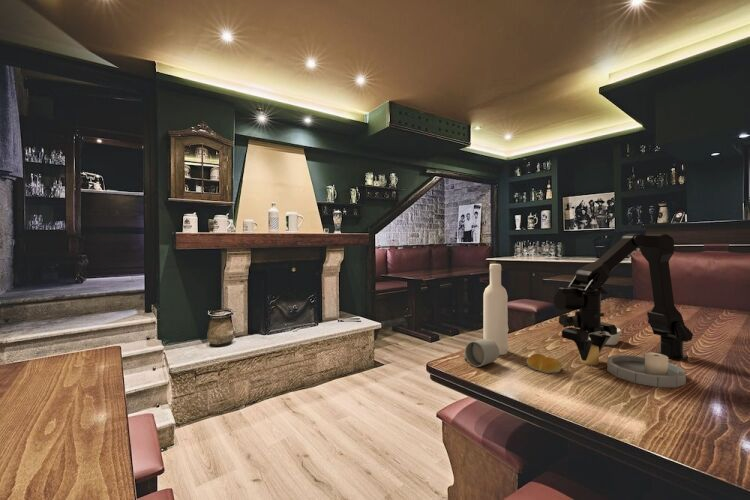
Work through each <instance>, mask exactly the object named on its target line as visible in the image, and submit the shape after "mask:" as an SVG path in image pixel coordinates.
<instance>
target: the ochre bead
mask: <svg viewBox="0 0 750 500" xmlns="http://www.w3.org/2000/svg"><path fill="white" fill-rule="evenodd" d="M579 362H580V363H582V364H585V365H589V366H598V365H599V364H600V353H599V347H598V346H596V345H591V348H590V351H589V354H588V357H587V359H586V361H584V360H582V359H581V356H580V355H579Z"/></svg>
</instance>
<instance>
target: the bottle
mask: <svg viewBox="0 0 750 500" xmlns="http://www.w3.org/2000/svg"><path fill="white" fill-rule="evenodd" d="M502 269H503V267H502V265H501V264H500V263H490V264H489V284H488V285H487V287H485V289H484V291H483V310H482V311H483V313H482V314H483V321H482V322H483V325H482V326H483V327H482V328H483V334H482V335H483V339H489V340H492V341H494V342H495V343H496V345H497V346H498V349H499V356H503V355H506V354H508V350H509V343H508V341H509V340H508V335H509V334H508V325H509V324H508V322H509V321H508V316H509V315H508V311H509V310H508V307H509V305H508V298H509V297H508V293H507V290H506V288H505V287H504V286H503V285H502Z"/></svg>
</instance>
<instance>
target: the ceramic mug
mask: <svg viewBox="0 0 750 500" xmlns="http://www.w3.org/2000/svg"><path fill="white" fill-rule="evenodd" d="M499 356H500V355H499V349H498V346H497V345H496V343H495V342H494V341H492V340H489V339H484V338H483V339H477V340H470V341H469V342H467V344H466V346H465V349H464V353H462V357H463V359H464V360H467V362H468V363H469V364H470V365H471V366H473V367H475V368H480V367H483V366H487V365H488V364H493V363H494V362H495V361H497V360H498V358H499Z"/></svg>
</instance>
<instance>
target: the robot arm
mask: <svg viewBox="0 0 750 500" xmlns="http://www.w3.org/2000/svg"><path fill="white" fill-rule="evenodd" d="M636 249H639V250H640V252H641V255H642V257H643V258H644V259H645V260H646V262H648V268H649V277H650V283H651V289H652V291H651V292H652V297H653V299H652V300H653V307H652V309H651V310H650V311H647V312H646V315H647V324H649V327H650V328H651V329H652V333H653V334H654V335H657V336H660V337H659V339H660V340H659V341H660V343H659V344H660V345H659V351H657V352H656V353H658V354H663V355H666V356H667V357H668V359H672V360H675V361H681V360H684V359H689V355H688V354H687V355H686V354H684V343H685V342H689V341H693V337H694V333H693V332H692V331H691V330H690V329H689V328H688V327H687V325H686V324H685V321H684V319H683V314H682V313H681V312H680V310H679V309H678V308H677V307H676V306H675V301H674V291H673V286H672V277H671V270H670V260H671V258H672V257H673V255H674V252H675V241H674V238H673V236H671V235H670V234H666V233H665V234H664V233H663V234H658V233H657V234H640V233H628V234H627V233H626V234H624V235H622V236H621V238H620V240H619V241H617V242H616V243H614V244H613V246H612V247H611V248H610V249H608V250H607V251H606V252H604V253H603V255H602V256H600V257H599V258H598V259H596V260H595V261H593V262H590V263H587V264H585V265H584V266H582V267H580V268H579V269H577V271H575V276H574V277H573V279H572V280H571V282H570V283H569V285H568V286H567V287H558V291H557V292H556V293H555V295H554V297H553V303H554V306H555V308H556V309H557V310H559V311H573V310H575V313H574V315H572V316H569V315H568V314H567V313H564V314H559V317H558V324H559V325H561V326H562V327H563V329H562V330H561V338H563V339H567V340H571V341H573V342H574V343H575V345H576V347H577V350H578V353H579V357H580V356H581V359H582V360H584V361H586V359H587V357H588V354H589V351H590V348H591V345H596V346H598V347H599V354H600V353H601V352H602V350H603V348H604V347H605V346H606V345H605V344H606V342H607V341H608V339H609V338H610V337H611V336H608V335H606V333H605V332H609V334H610V335H615V334H617V328H618V327H617V326H616V325H615V324H614V323H613V324H612V323H609V322H608V323H607V322H602V321H601V319H602V318H601V317H604V316H605V313H604V312H602V309H601V308H602V295H603V296H605V295H608V291H606V290H605V289H604V288H603V286H604V285H605V284H606V283H607V281H609V279H610V277H611V272H612V271H613V270H614V269H615V268H616V267H618V266H619V265H620V263H621V262H623V261H624V260H626V258H628V256H630V255H631V254H632V253H633V252H634V251H635V250H636ZM589 337H590V339H591V340H589Z"/></svg>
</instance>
